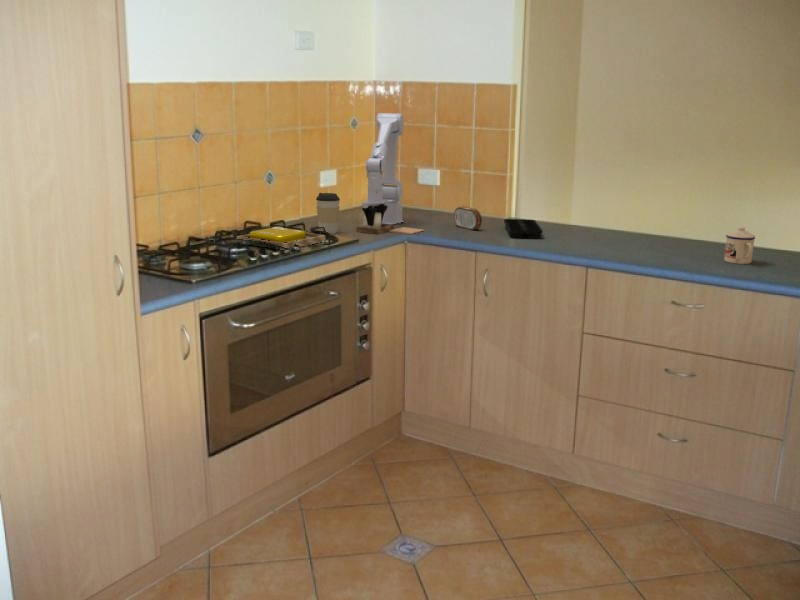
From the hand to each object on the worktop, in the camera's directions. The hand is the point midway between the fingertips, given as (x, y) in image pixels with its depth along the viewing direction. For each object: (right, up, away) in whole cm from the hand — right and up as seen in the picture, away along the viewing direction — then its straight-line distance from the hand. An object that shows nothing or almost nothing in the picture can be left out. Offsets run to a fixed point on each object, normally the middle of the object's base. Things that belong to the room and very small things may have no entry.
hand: (374, 224), depth 334 cm
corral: (-32, -9, -29) cm, 44 cm away
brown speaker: (+37, -1, +12) cm, 38 cm away
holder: (0, -2, +1) cm, 2 cm away
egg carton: (+58, -3, +5) cm, 58 cm away
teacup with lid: (+123, -17, -45) cm, 132 cm away
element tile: (-33, -9, -28) cm, 44 cm away
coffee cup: (-18, -4, -5) cm, 19 cm away
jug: (-1, -2, +1) cm, 3 cm away
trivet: (+13, -3, +1) cm, 13 cm away
